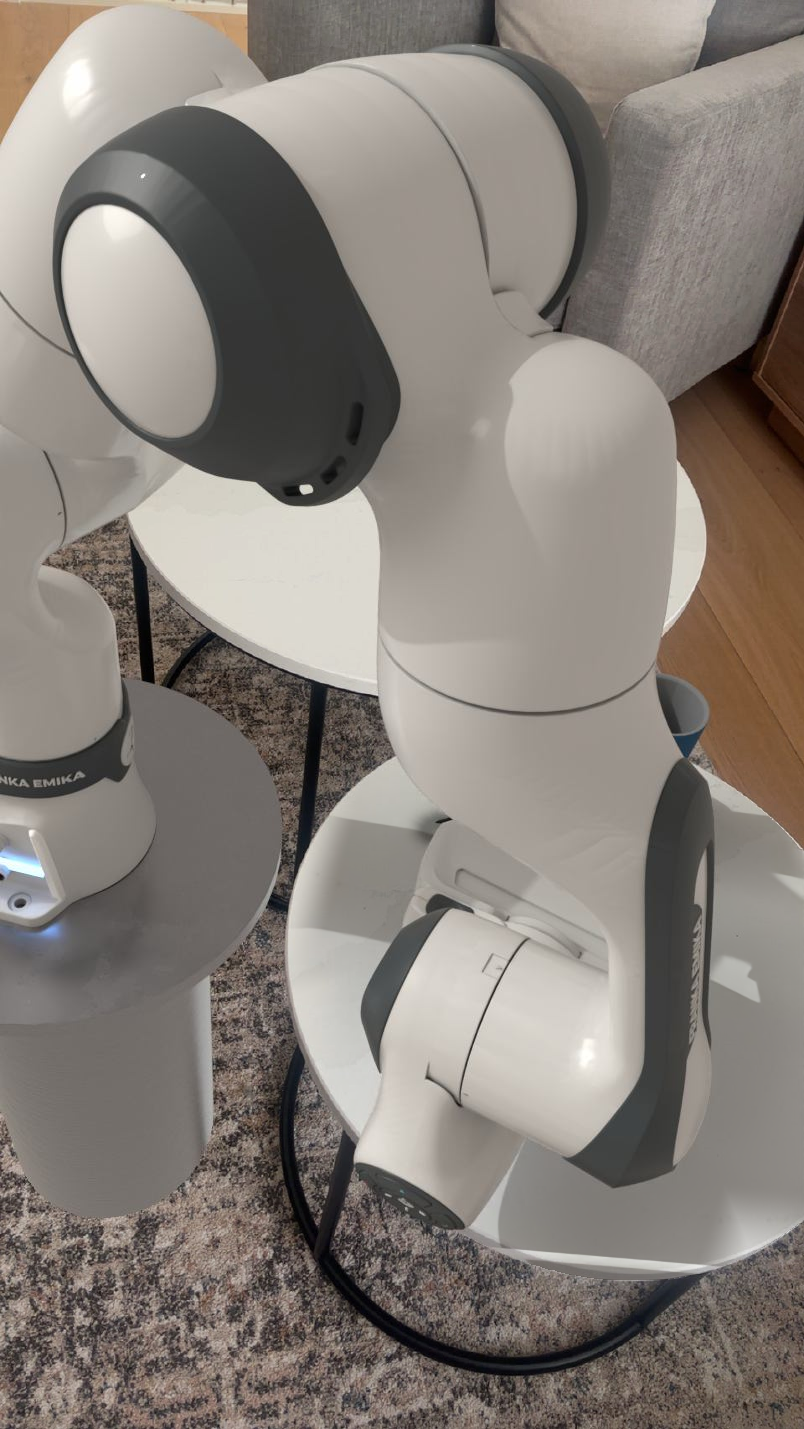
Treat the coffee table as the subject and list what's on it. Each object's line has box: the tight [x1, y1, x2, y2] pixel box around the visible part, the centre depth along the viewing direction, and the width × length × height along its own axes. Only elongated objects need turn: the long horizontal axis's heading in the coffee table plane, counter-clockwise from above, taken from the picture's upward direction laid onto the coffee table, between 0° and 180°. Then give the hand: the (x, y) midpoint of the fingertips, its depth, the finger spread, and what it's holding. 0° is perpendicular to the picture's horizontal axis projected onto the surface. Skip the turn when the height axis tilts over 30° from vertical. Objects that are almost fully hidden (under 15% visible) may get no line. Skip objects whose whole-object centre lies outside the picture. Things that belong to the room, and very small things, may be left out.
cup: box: [656, 672, 711, 760], centre depth 89 cm, size 7×7×15 cm
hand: (594, 843), depth 80 cm, fingers open, 8 cm apart
